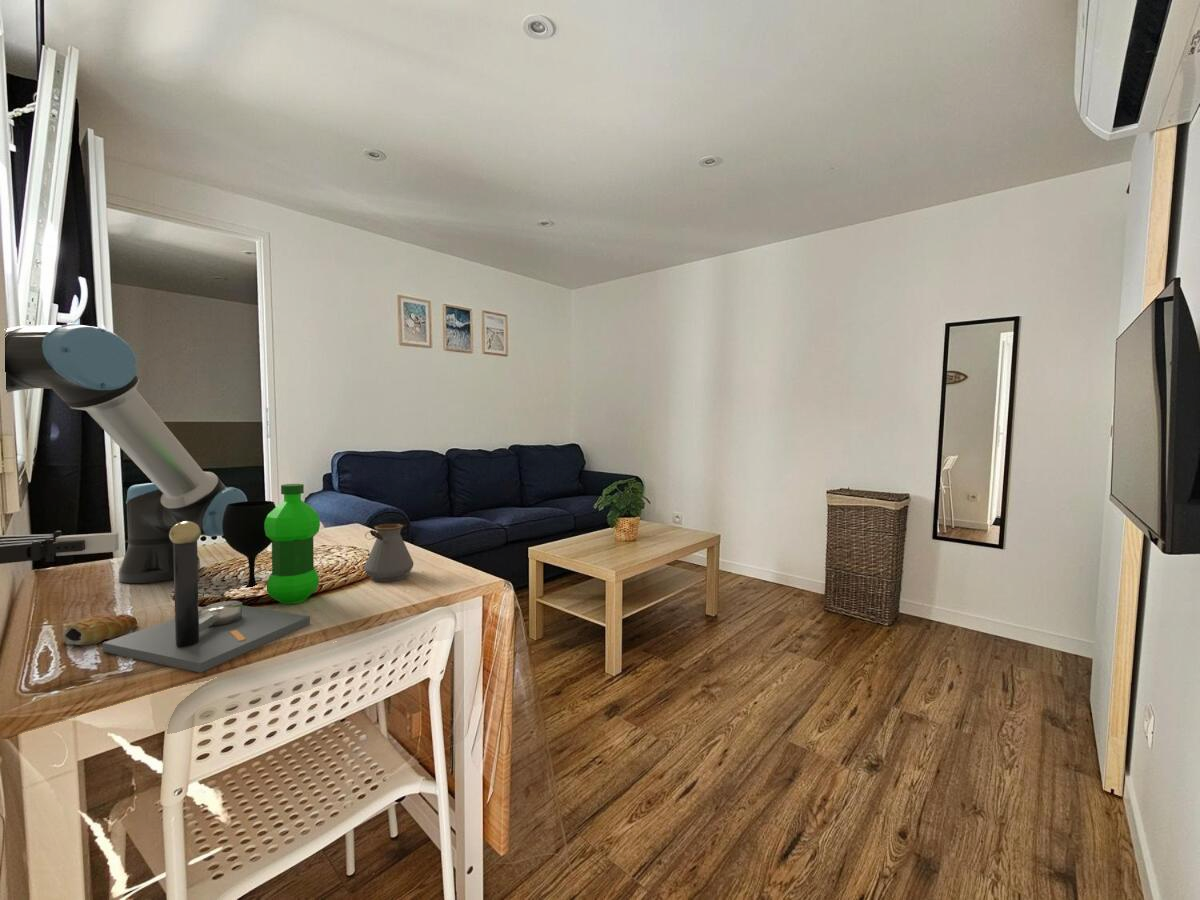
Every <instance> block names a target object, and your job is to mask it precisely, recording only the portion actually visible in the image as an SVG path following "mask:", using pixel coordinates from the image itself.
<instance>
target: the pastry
mask: <svg viewBox="0 0 1200 900" xmlns="http://www.w3.org/2000/svg"><path fill="white" fill-rule="evenodd" d="M137 626H138V620H137V618H136V617H135V616H132V615H130V614H129V615H128V614H118V615H114V614H110V615H109V614H108V615H107V614H106V615H101V616H99V615H95V616H92V617H89V618H86V619H82V620H78V621H76V622H73V623H70V624H68V625H67V626H66V628H65V629H64V630H63V632H62V634H61V640H62V641H63V642H64V644H65V645H68V646H69V645H72V646H75V645H76V646H91V645H95V644H99V643H101V642H103V641H104V640H112V639H115V638H117V637H118V636H119V637H120V636H121V635H122V636H123V634H126V633H128V632H131V631H132V630H133V629H134V628H136V627H137Z"/></svg>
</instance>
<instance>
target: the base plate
mask: <svg viewBox="0 0 1200 900" xmlns="http://www.w3.org/2000/svg"><path fill="white" fill-rule="evenodd" d="M201 610H202V609H200V610H199V617H200V616H202V611H201ZM308 625H311V615H305V614H300V613H299V614H298V613H292V612H288V611H286V612H285V611H281V610H274V609H267V608H262V607H261V608H260V607H257V606H248V605H243V604H242V618H240V619H239V620H237V621H234V622H231V623H227V624H223V625H215V626H209V627H207V628H206V629H204V630H203V631H201V632H200V633H199V641H198V642H197V643H195V644H192V645H189V646H182V647H179V646H176V641H175V618H173V619H170V620H168V621H165V622H160V623H158V624H155V625H152V626H149V627H145V628H143V629H141V630H137V631H134V632H131V633H127V634H125V635H122V636H121V635H120V636H119V637H118V636H117V637H115V638H112V639H108V640H107V641H104V642H103V641H102V652H103V653H108V654H112V655H117V656H121V657H124V658H130V659H135V660H140V661H144V662H145V661H146V662H148V663H152V664H158V665H161V666H163V665H164V666H166V667H172V668H177V669H181V670H186V671H191V672H194V673H203V672H205V671H208V670H210V669H212V668H215V667H217V666H219V665H221V664H224V663H225V662H229V661H230V660H233V659H234V658H237V657H239V656H241V655H243V654H247V653H248V652H251V651H252V650H255V649H257V648H259V647H262V646H264V645H266V644H269V643H270V642H272V641H275V640H277V639H280V638H281V637H283V636H286V635H288V634H291V633H293V632H295V631H297V630H299V629H302V628H304V627H306V626H308Z"/></svg>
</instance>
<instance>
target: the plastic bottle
mask: <svg viewBox="0 0 1200 900" xmlns="http://www.w3.org/2000/svg"><path fill="white" fill-rule="evenodd" d="M304 486H305V485H304V483H287V484H286V483H285V484H281V485H280V494H281V495H283V501H282V502H281V503H279V504H278V505H277V506H276V508H274V509H273V510H272V511H271V512H270V513H269V514H268V515H267V517H266V520H265V523H264V530H265V534H266V536H267V537H268V538H269V539H271V540H272V543H271V573H270V575H269V577H268V579H267V582H266V583H267V591H268V593H269V594H268V595H269V597H271V598H272V599H273V600H274V601H275V600H276V601H277V602H279V604H281V605H282V604H283V605H292V604H298V603H303V602H304V601H306V600H308V598H310V596H311V595H312V594H314V593H315V592H316V590H317V589H318V586H319V582H320V581H319V580H320V578H319V574H318V573H317V570H316V569H315V567H314V566H315V565H314V564H315V563H314V560H315V558H314V556H315V555H314V553H315V552H314V537H315V536H316V535H317V533H319V531H320V526H321V518H320V516H319V514H318V513H319V512H318V511H317V510H316V509H314V508H313V507H311V505H309V504H307V503H306V502H305V501H303V500H302V494H304V493H305V492H304V489H305V488H304Z"/></svg>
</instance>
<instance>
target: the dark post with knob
mask: <svg viewBox="0 0 1200 900" xmlns="http://www.w3.org/2000/svg"><path fill="white" fill-rule="evenodd" d="M169 537H170V540H171V541H172V542H173V547H174V579H173V582H174V584H173V586H174V619H175V641H176V646H179V647H182V646H189V645H192V644H195V643H197V642H198V641H199V633H200V632H201V631H203V630H204V629H206V628H207V627H209V626H215V625H223V624H227V623H231V622H234V621H237V620H239V619H240V618H242V605H243V602H242V601H240V600H239V601H238V600H226V601H225V600H224V601H219V602H214V603H210V604H207V605H205V606H203V607H202V609H200V610H201V611H202V616H200V617H199V611H200V610H199V571H198V557H199V556H198V541H199V539H200V538H201V530H200V527H199V526H198V525H197V524H195V523H193V522H190V521H184V522H180V523H177V524H176V525H174V526H173V527H172V528H171V530H170V532H169Z"/></svg>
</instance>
